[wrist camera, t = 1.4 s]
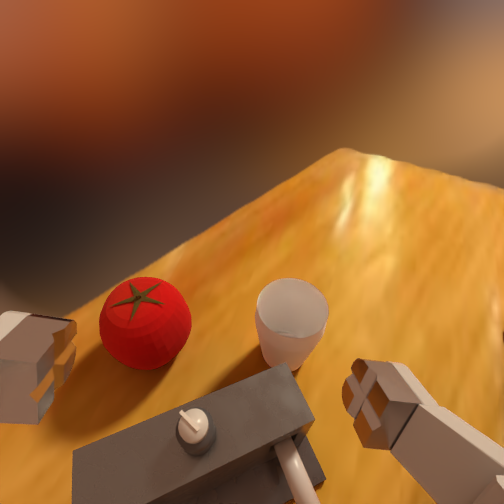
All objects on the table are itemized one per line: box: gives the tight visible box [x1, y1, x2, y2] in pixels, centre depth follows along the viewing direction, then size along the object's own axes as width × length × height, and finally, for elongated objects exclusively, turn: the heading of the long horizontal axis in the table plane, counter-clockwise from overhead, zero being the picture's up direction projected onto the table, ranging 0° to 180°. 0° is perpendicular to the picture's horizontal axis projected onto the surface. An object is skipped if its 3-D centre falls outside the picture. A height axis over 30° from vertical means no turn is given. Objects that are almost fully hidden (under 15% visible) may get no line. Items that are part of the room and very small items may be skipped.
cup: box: [255, 278, 329, 371], centre depth 39 cm, size 9×9×12 cm
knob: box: [273, 437, 320, 504], centre depth 27 cm, size 9×5×5 cm, turn 23°
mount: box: [72, 362, 326, 504], centre depth 29 cm, size 10×23×11 cm, turn 113°
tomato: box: [99, 277, 192, 370], centre depth 40 cm, size 12×12×13 cm
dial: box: [176, 407, 216, 456], centre depth 25 cm, size 3×3×4 cm
